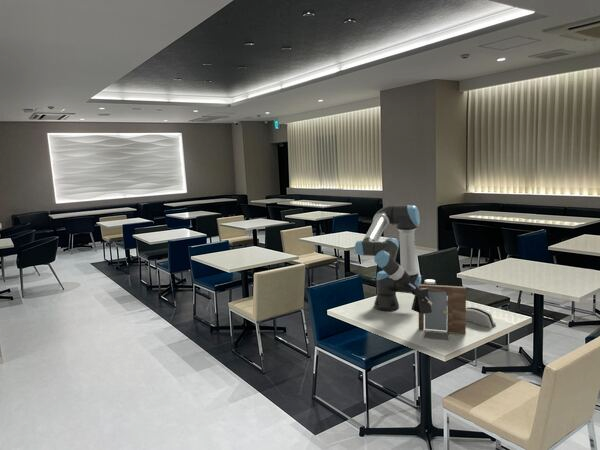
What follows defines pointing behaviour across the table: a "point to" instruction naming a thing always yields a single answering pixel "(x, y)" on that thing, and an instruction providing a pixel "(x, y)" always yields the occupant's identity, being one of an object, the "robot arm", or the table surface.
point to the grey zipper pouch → (479, 316)
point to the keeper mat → (436, 335)
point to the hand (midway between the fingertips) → (428, 303)
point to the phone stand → (421, 303)
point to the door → (437, 311)
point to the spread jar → (429, 282)
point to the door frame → (451, 307)
